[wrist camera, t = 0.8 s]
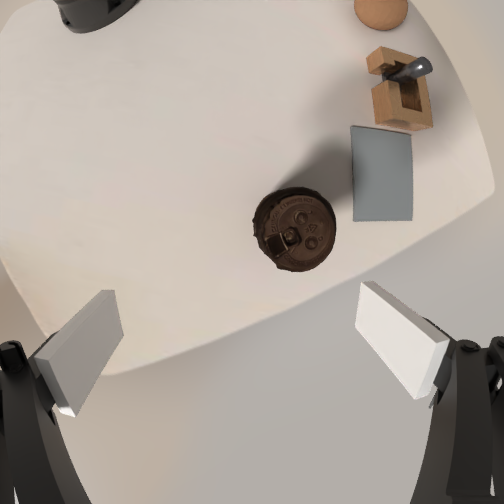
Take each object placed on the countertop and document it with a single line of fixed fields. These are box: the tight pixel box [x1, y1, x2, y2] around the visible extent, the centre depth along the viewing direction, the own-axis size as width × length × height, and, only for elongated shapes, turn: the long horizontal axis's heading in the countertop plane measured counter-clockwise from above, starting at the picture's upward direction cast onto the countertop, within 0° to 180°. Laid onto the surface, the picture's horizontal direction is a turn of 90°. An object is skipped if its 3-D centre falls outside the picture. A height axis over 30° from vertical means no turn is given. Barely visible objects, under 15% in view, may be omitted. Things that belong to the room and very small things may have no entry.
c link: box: [366, 46, 433, 131], centre depth 31 cm, size 12×8×5 cm, turn 2°
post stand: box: [382, 57, 433, 92], centre depth 28 cm, size 3×3×10 cm
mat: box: [350, 126, 413, 222], centre depth 36 cm, size 14×11×1 cm
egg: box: [354, 0, 408, 30], centre depth 24 cm, size 8×8×11 cm
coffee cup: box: [252, 187, 336, 272], centre depth 31 cm, size 9×8×13 cm
